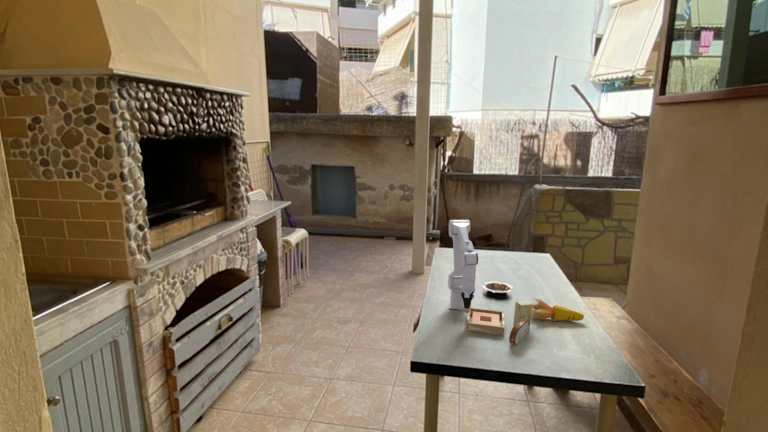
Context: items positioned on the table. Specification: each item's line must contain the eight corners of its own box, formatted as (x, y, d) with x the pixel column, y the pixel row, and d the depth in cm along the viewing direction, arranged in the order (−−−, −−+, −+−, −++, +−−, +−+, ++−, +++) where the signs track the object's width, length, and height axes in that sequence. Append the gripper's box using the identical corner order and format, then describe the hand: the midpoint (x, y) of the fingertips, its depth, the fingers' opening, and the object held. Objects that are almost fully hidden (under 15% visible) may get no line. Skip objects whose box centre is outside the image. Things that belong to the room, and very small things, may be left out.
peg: (463, 309, 189) (463, 294, 188) (470, 309, 188) (471, 295, 187) (462, 312, 186) (463, 298, 184) (470, 313, 185) (471, 298, 183)
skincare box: (518, 330, 184) (520, 305, 181) (512, 326, 188) (514, 301, 185) (530, 328, 186) (533, 303, 183) (525, 324, 190) (527, 299, 187)
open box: (468, 315, 198) (469, 307, 198) (503, 319, 194) (503, 311, 194) (466, 331, 183) (466, 322, 182) (503, 336, 179) (504, 327, 179)
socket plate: (472, 316, 196) (473, 311, 195) (498, 319, 193) (499, 314, 192) (471, 328, 185) (471, 323, 184) (499, 331, 182) (499, 326, 181)
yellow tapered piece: (580, 331, 192) (525, 319, 196) (578, 316, 197) (525, 306, 201) (586, 321, 186) (529, 309, 190) (584, 306, 192) (529, 295, 196)
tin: (521, 332, 183) (523, 314, 181) (528, 334, 181) (530, 317, 179) (507, 346, 171) (509, 328, 169) (515, 349, 169) (516, 330, 168)
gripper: (461, 271, 191) (459, 298, 194) (458, 283, 178) (456, 312, 181) (476, 272, 189) (475, 300, 193) (474, 284, 176) (473, 314, 179)
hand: (467, 306), depth 187 cm, fingers closed on peg, 3 cm apart
